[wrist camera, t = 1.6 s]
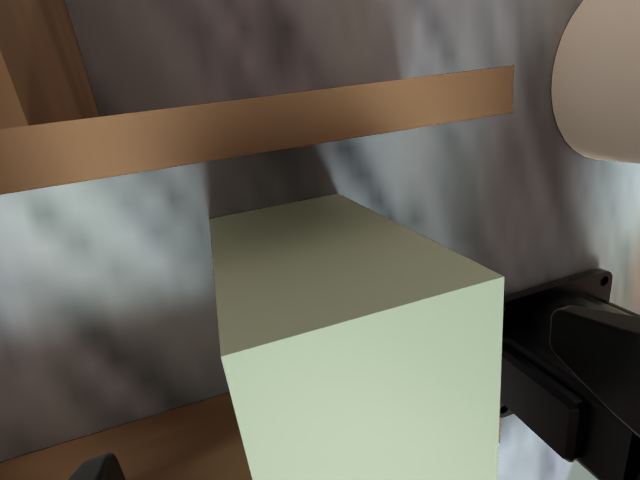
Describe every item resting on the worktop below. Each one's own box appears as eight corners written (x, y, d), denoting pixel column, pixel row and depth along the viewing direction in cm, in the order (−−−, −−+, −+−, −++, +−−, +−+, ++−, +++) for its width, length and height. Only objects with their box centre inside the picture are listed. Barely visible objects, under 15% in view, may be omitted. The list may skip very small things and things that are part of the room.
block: (337, 193, 13) (504, 276, 6) (350, 304, 15) (497, 480, 7) (209, 218, 12) (220, 357, 5) (236, 335, 14) (277, 575, 6)
